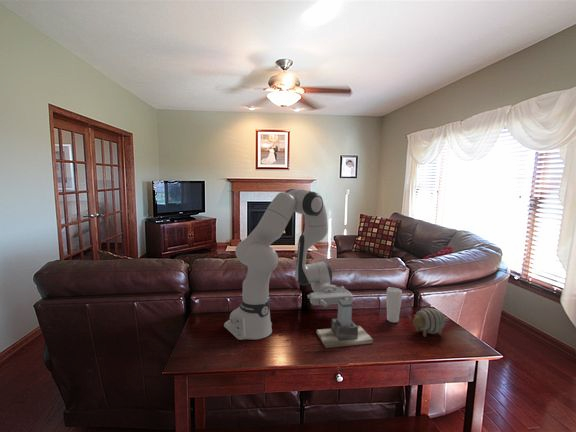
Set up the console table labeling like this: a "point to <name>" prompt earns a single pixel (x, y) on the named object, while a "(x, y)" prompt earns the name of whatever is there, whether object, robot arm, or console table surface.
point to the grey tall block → (344, 313)
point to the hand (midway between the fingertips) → (337, 304)
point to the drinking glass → (393, 304)
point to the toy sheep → (429, 321)
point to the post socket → (343, 335)
